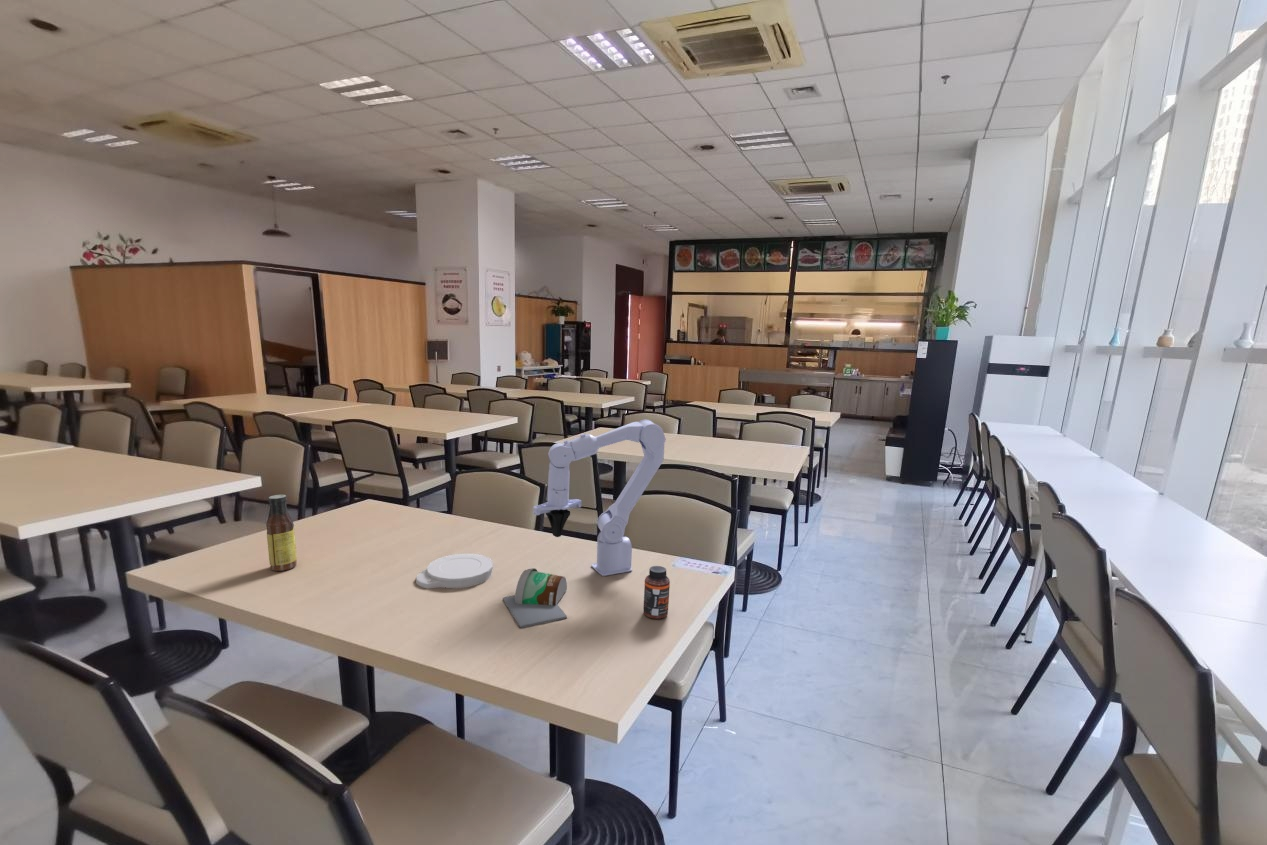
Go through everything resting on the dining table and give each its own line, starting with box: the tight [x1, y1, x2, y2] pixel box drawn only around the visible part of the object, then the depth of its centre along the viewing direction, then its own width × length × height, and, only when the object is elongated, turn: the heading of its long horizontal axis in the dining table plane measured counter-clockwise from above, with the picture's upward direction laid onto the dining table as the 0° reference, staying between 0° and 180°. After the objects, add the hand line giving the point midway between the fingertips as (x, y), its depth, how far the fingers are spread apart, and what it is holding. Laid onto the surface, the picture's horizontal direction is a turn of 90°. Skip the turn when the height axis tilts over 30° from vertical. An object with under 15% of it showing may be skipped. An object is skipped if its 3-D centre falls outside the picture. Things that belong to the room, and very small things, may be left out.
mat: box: [502, 594, 568, 629], centre depth 131 cm, size 11×15×1 cm
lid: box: [415, 552, 494, 590], centre depth 147 cm, size 17×20×3 cm
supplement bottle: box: [642, 565, 671, 620], centre depth 130 cm, size 6×6×11 cm
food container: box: [514, 567, 568, 606], centre depth 136 cm, size 12×6×10 cm
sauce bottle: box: [266, 494, 298, 572], centre depth 147 cm, size 7×6×20 cm
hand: (556, 535), depth 151 cm, fingers closed
